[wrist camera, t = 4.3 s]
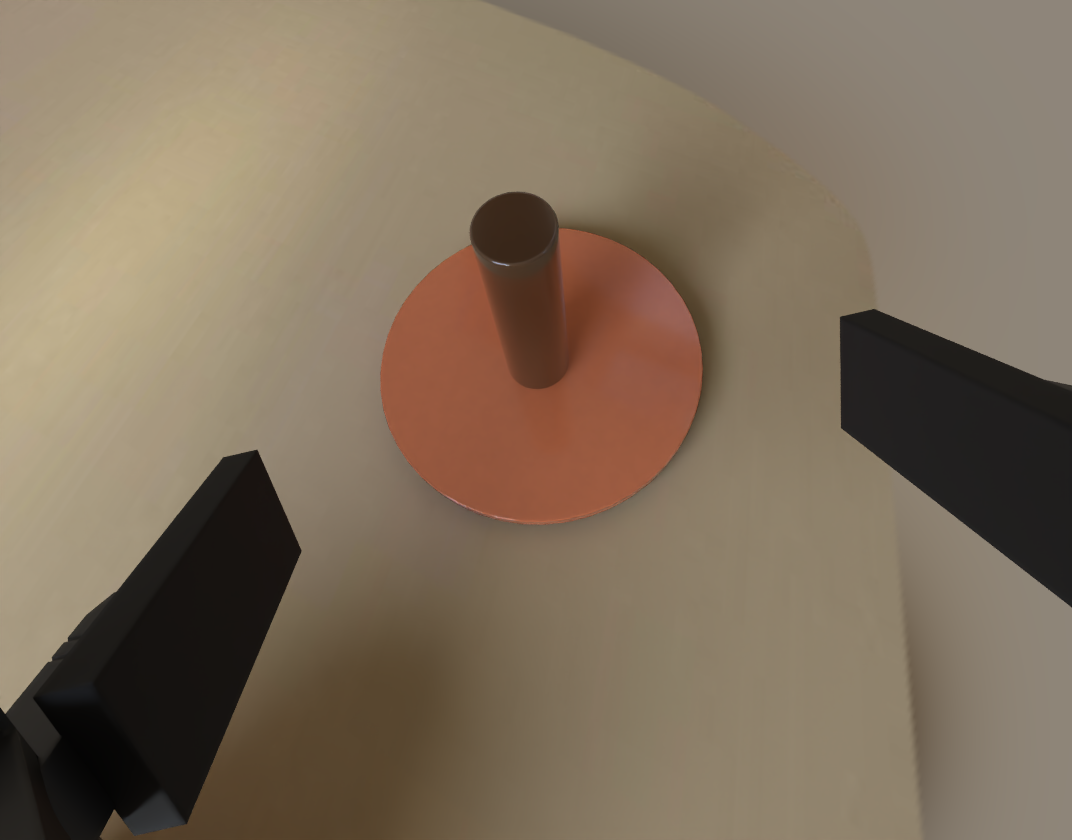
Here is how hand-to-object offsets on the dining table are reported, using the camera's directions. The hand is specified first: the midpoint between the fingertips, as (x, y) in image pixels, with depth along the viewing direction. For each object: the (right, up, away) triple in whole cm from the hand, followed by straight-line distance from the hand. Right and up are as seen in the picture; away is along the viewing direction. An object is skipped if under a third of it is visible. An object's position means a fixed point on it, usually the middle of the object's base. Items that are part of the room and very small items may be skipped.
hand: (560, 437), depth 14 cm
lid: (0, +3, +13) cm, 13 cm away
